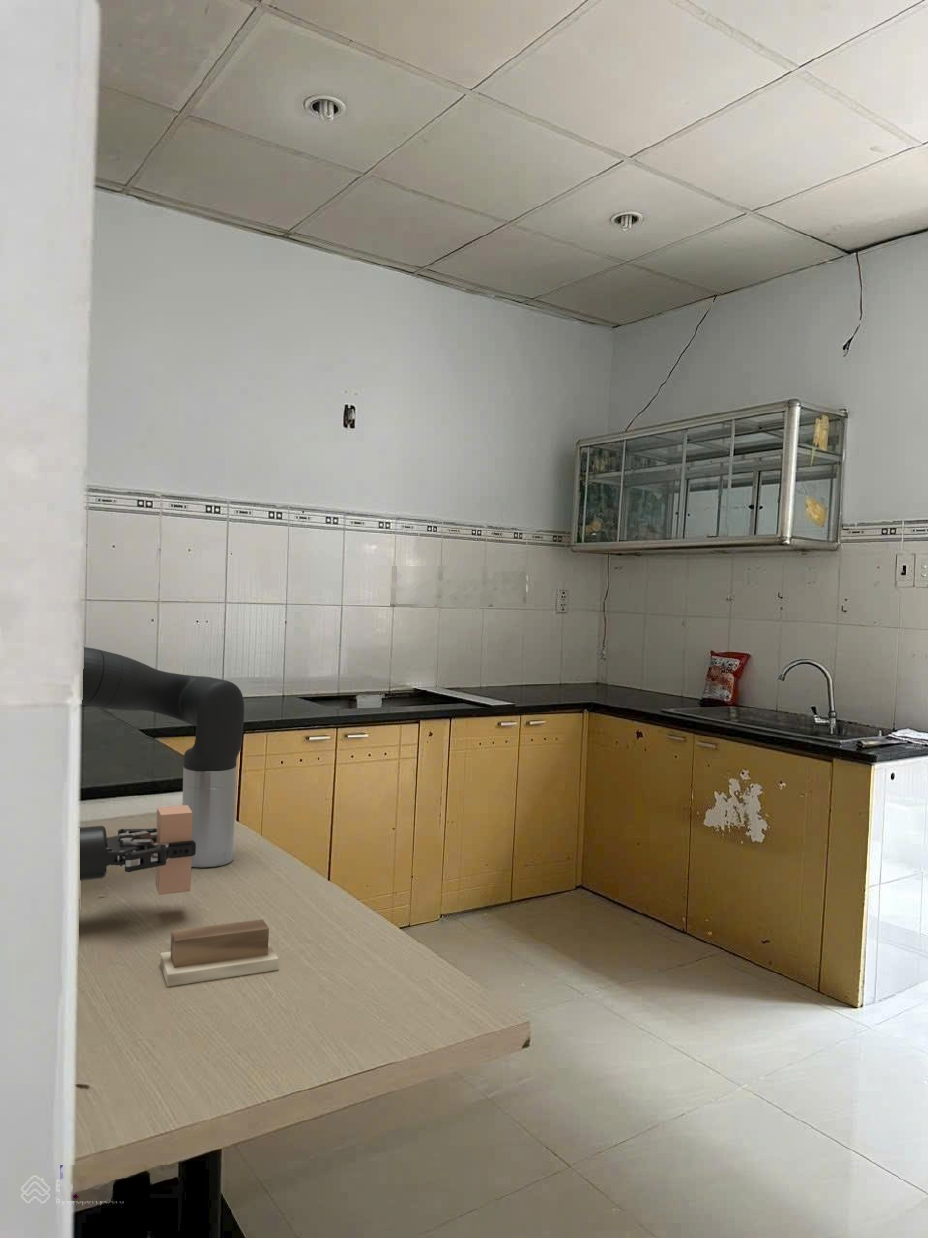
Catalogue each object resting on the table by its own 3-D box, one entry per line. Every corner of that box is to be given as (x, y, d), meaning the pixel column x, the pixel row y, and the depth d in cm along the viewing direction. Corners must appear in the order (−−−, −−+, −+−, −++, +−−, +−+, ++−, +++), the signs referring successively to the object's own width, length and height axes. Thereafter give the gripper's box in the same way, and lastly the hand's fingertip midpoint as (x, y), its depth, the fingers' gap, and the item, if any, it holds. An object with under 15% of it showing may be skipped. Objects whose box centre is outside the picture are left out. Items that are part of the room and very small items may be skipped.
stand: (160, 964, 117) (161, 926, 117) (265, 949, 123) (267, 913, 123) (167, 986, 110) (168, 947, 110) (278, 970, 117) (279, 932, 116)
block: (155, 885, 135) (157, 807, 134) (185, 881, 137) (187, 805, 136) (159, 895, 131) (160, 815, 130) (190, 891, 133) (192, 812, 132)
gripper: (72, 843, 121) (201, 831, 128) (68, 816, 133) (186, 807, 141) (71, 897, 121) (200, 882, 128) (68, 865, 134) (185, 853, 141)
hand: (192, 843), depth 135 cm, fingers closed on block, 4 cm apart
